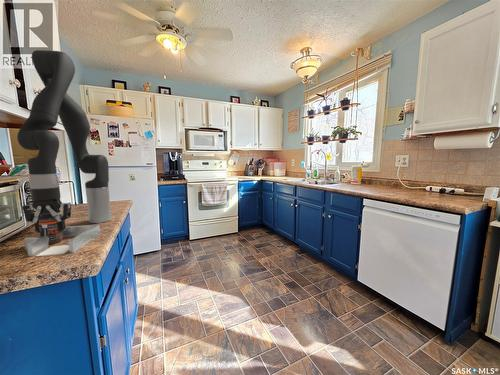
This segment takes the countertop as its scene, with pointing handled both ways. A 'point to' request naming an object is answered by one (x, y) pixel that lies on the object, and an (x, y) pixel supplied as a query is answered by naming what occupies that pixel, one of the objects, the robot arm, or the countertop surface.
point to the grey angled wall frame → (78, 232)
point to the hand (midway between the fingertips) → (51, 231)
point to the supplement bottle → (49, 228)
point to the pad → (55, 250)
